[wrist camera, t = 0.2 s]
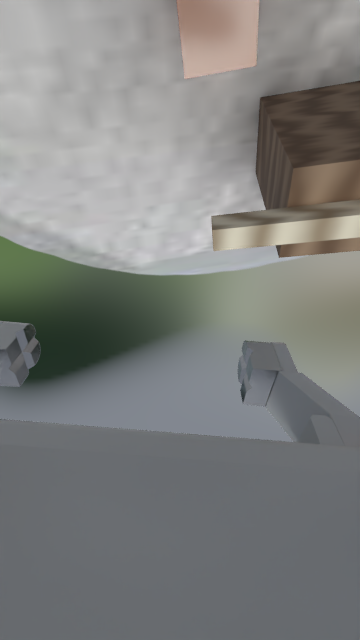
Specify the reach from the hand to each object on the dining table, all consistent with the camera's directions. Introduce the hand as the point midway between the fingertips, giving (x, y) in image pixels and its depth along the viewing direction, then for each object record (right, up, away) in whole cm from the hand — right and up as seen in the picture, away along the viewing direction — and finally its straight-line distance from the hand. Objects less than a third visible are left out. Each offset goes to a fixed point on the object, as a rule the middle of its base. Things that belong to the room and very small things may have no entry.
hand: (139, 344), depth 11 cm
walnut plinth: (+24, +34, +38) cm, 57 cm away
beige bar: (+18, +14, +23) cm, 32 cm away
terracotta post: (+6, +44, +27) cm, 52 cm away
